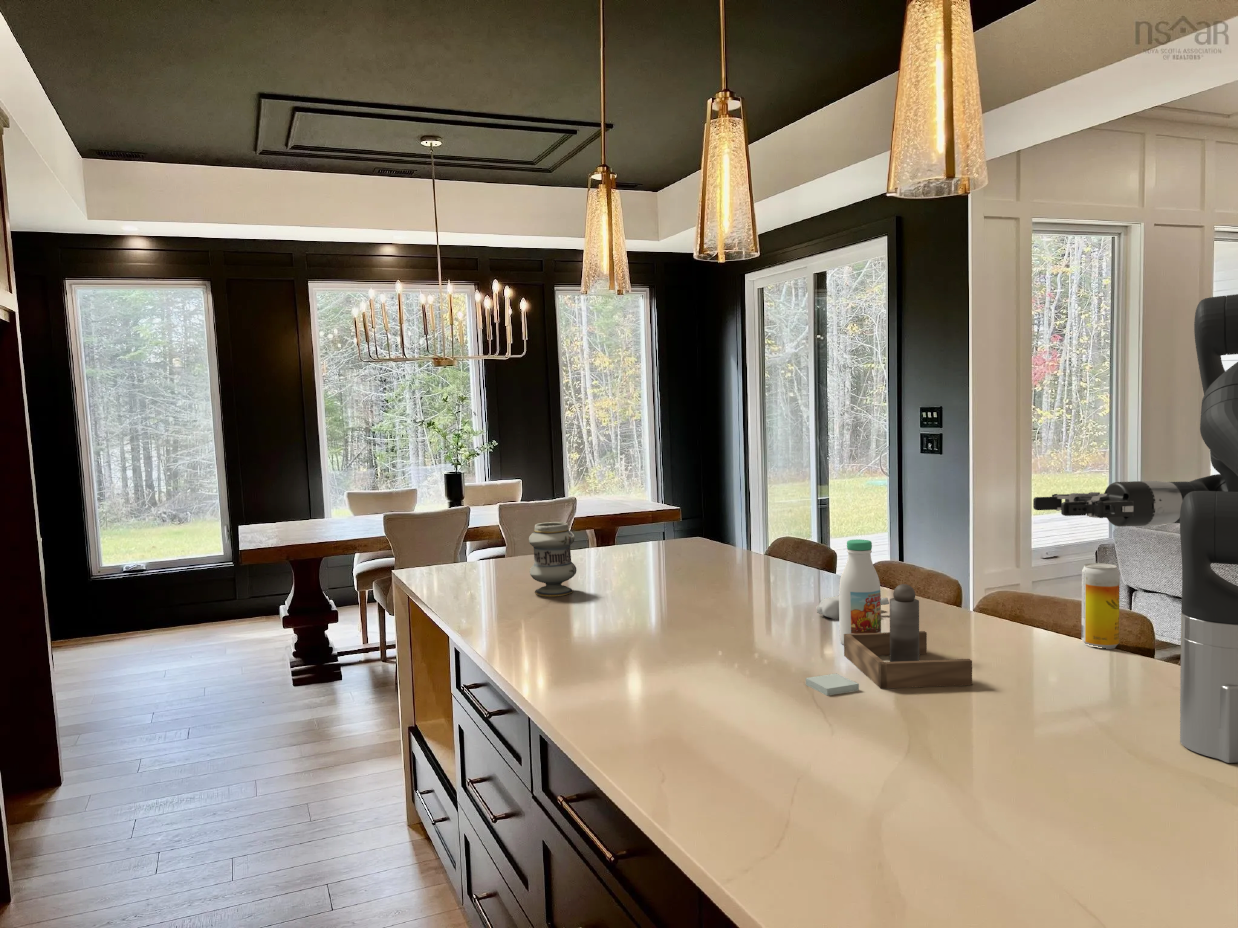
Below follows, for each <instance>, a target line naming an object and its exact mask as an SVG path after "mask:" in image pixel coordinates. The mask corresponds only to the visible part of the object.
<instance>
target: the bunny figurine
mask: <svg viewBox="0 0 1238 928" xmlns="http://www.w3.org/2000/svg"><path fill="white" fill-rule="evenodd" d="M883 605H884V606H885V605H890V600H889V599H888V597H881V606H883ZM815 608H816V613H817V614H820V615H822V616H824V617H827V618H830V619H832V620H839V594H838V595H836V596H830V597H825V598H824V599H822V600H821V601H820V602H819V604H818V605H816V607H815Z"/></svg>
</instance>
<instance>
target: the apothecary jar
mask: <svg viewBox="0 0 1238 928" xmlns="http://www.w3.org/2000/svg"><path fill="white" fill-rule="evenodd" d="M575 537H576V536H575V534H574V533H573V532H572V531H571V530H570V529H569V527H568V522H564V521H551V522H549V521H546V522H541V523H539V522H538V523H536V524H534V530H533V532H532V533H531V534H530V535H529V537H528V544H530V545H531V546H532V547H533V564H532V566H531V567H530V569H529V575H530V577H532V579H533V580H535V581H536V582H539V583H542V584H545V585H544V586H540V587H539V588H537V589H536V590H534V593H535V596H539V597H562V596H567V595H570V594H572V593H574V591H573V588H571V587H568V585H564V584H563V583H565V582H567V581H568V580H571V579H572V578H574V576H575V575H576V574H577V567H576V564H575V563H574V562H572V555H571V552H572V551H571V545H572V544H573V543H574V542H575V540H576V539H575ZM562 584H563V585H562Z"/></svg>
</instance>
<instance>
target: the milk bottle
mask: <svg viewBox="0 0 1238 928" xmlns="http://www.w3.org/2000/svg"><path fill="white" fill-rule="evenodd" d="M846 549H847V550H846V552H847V553H848V555H847V560H846V562H845V566H844V568H843V570H842V573H841V575H840V578H839V587H838V588H839V589H838V591H839V593H838V595H839V619H838V620H839V624H838V625H839V626H838V627H839V641H840V644H842V645H843V646H844V634H858V633H882V605H881V598H882V597H881V596H882V595H881V592H882V591H881V582H880V579H879V575H878V572H877V571H876V568H875V567H874V564H873V560H872V556H871V553H872V552H873V551H872V549H873V543H872V541H871V540H869V539H861V538H860V539H849V540H847V541H846Z"/></svg>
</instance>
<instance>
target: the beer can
mask: <svg viewBox="0 0 1238 928" xmlns="http://www.w3.org/2000/svg"><path fill="white" fill-rule="evenodd" d="M1120 575H1121V574H1120V571H1119V569H1118V566H1117V565H1115V564H1110V563H1101V562H1100V563H1098V562H1090V563H1088V562H1087V563H1085V564H1084V566H1083V568H1082V569H1081V641H1082V642H1083V643H1084V645H1085V644H1089V645H1093V646H1098V647H1102V648H1106V649H1105V650H1112V649H1115V648H1116V647H1117V646H1118V645H1119V644H1120V583H1121V582H1120Z"/></svg>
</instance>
